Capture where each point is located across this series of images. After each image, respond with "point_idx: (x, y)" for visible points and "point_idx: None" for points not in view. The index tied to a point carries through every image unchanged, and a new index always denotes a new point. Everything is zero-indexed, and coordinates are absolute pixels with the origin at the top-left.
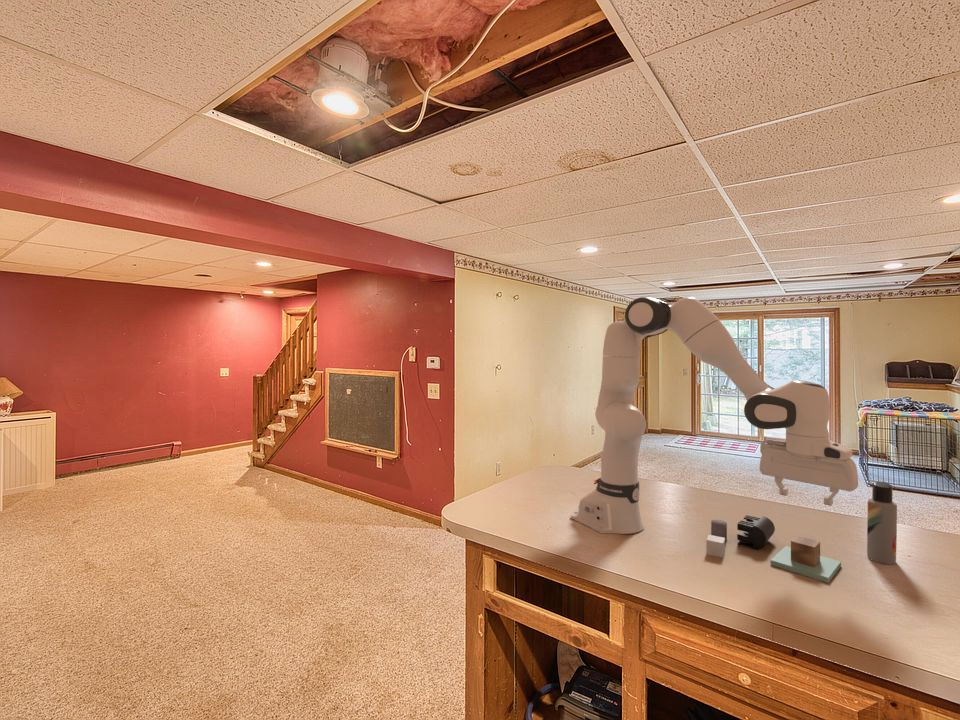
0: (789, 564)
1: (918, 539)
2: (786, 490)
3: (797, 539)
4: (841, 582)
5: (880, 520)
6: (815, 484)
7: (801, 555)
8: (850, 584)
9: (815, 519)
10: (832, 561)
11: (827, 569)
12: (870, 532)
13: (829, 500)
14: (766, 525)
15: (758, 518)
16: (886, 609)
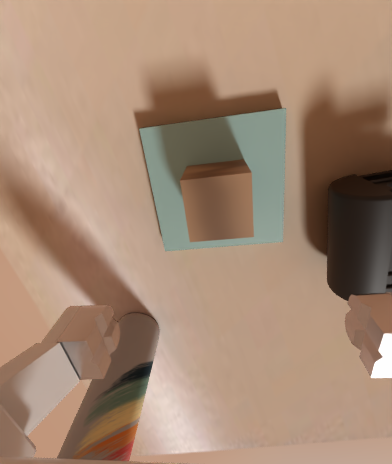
0: (236, 125)
1: (143, 425)
2: (372, 337)
3: (241, 204)
4: (128, 159)
5: (97, 402)
6: (73, 462)
7: (217, 166)
8: (113, 166)
9: (281, 413)
10: (176, 237)
11: (162, 180)
12: (133, 366)
13: (56, 329)
14: (355, 254)
15: (390, 286)
16: (12, 95)
